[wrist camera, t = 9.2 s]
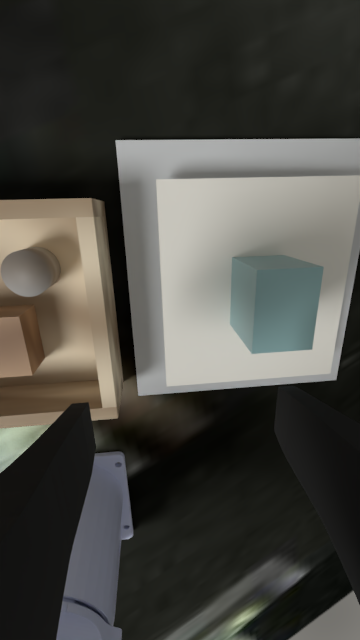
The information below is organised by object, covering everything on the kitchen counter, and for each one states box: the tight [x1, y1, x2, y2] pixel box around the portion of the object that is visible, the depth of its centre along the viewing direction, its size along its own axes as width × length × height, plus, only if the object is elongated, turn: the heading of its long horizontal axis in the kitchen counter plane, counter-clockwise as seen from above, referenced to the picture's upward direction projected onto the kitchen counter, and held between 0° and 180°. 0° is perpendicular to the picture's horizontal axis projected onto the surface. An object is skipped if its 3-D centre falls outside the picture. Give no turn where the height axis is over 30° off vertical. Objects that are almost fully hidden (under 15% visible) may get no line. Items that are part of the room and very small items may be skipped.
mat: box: [116, 139, 360, 396], centre depth 19 cm, size 16×15×1 cm
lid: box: [156, 175, 360, 387], centre depth 16 cm, size 12×11×6 cm
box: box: [0, 198, 123, 428], centre depth 17 cm, size 12×11×4 cm
